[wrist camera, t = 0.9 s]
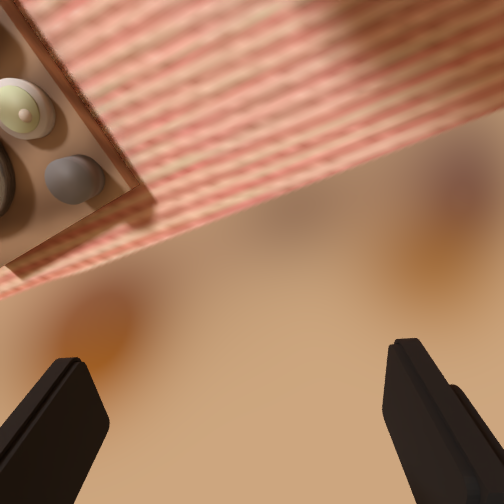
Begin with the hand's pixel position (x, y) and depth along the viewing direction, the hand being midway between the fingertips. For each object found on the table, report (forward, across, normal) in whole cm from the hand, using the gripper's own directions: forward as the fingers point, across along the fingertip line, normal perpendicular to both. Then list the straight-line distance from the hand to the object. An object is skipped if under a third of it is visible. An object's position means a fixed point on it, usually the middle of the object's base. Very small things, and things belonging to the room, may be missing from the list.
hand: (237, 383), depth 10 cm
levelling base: (+28, +28, -7) cm, 40 cm away
